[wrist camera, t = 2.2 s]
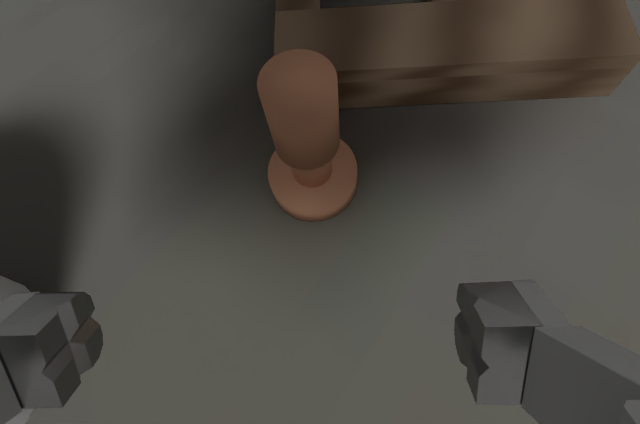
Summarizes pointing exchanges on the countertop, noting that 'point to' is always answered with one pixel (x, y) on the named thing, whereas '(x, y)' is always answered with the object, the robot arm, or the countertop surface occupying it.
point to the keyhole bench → (465, 49)
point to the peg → (306, 136)
